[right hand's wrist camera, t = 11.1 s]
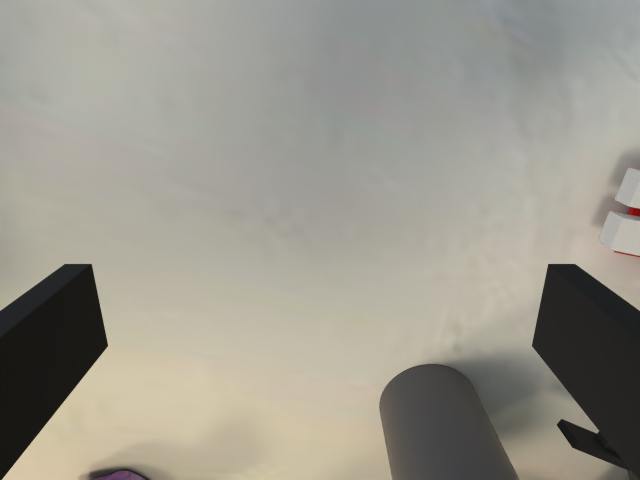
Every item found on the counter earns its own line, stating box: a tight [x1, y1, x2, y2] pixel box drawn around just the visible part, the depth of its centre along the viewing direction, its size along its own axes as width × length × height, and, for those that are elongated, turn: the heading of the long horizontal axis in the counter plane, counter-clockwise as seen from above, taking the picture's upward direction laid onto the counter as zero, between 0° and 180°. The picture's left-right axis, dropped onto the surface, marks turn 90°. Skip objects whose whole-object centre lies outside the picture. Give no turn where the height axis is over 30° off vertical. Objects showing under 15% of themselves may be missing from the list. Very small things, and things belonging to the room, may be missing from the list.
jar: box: [379, 365, 519, 480], centre depth 38 cm, size 10×10×18 cm
